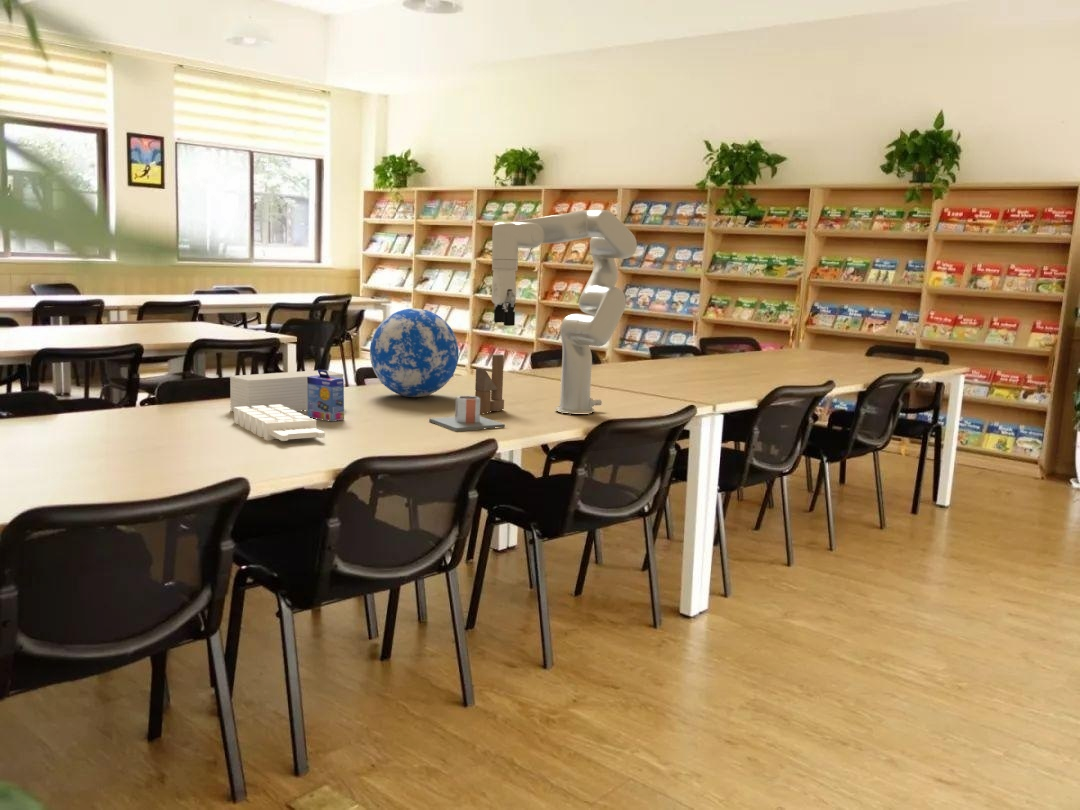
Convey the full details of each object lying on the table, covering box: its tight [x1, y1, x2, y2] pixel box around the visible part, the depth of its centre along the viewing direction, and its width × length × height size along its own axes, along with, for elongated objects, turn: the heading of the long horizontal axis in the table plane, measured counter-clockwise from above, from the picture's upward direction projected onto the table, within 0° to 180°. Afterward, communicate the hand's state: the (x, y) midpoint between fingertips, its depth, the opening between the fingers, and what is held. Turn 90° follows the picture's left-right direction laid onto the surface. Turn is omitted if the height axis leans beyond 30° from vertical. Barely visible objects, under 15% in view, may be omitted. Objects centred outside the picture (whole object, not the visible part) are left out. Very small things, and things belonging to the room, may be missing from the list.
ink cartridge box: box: [307, 369, 345, 422], centre depth 273 cm, size 10×6×14 cm, turn 59°
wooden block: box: [474, 353, 505, 413], centre depth 297 cm, size 4×11×18 cm, turn 145°
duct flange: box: [428, 415, 506, 432], centre depth 274 cm, size 16×16×6 cm
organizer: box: [233, 404, 326, 442], centre depth 252 cm, size 13×5×35 cm
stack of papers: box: [229, 369, 344, 413], centre depth 287 cm, size 32×11×11 cm, turn 135°
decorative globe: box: [369, 307, 460, 398], centre depth 320 cm, size 30×30×30 cm
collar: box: [454, 395, 481, 423], centre depth 274 cm, size 7×7×7 cm
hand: (504, 323), depth 280 cm, fingers open, 9 cm apart
